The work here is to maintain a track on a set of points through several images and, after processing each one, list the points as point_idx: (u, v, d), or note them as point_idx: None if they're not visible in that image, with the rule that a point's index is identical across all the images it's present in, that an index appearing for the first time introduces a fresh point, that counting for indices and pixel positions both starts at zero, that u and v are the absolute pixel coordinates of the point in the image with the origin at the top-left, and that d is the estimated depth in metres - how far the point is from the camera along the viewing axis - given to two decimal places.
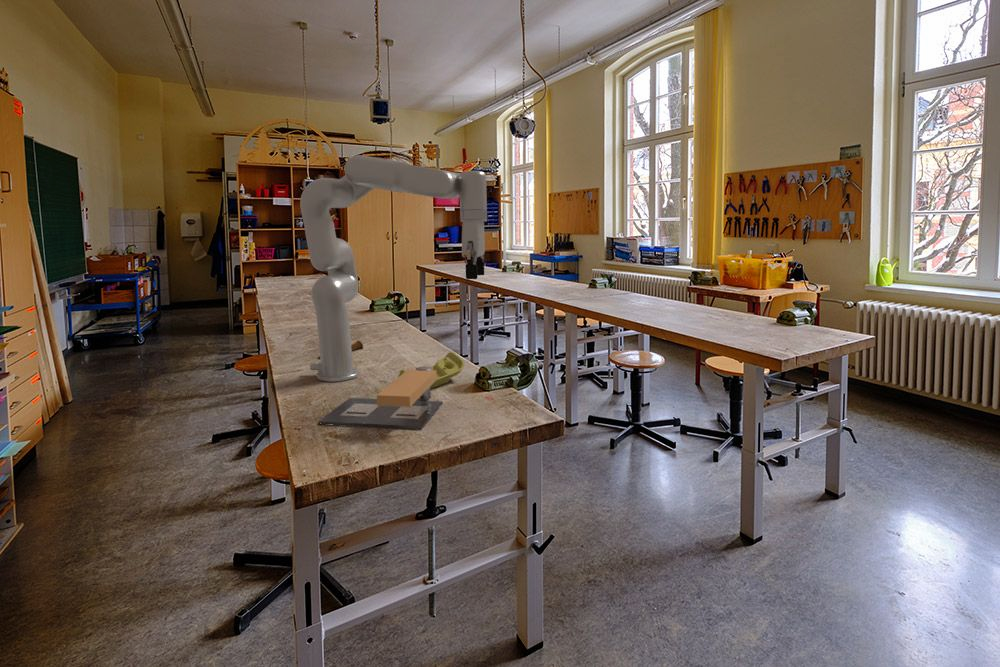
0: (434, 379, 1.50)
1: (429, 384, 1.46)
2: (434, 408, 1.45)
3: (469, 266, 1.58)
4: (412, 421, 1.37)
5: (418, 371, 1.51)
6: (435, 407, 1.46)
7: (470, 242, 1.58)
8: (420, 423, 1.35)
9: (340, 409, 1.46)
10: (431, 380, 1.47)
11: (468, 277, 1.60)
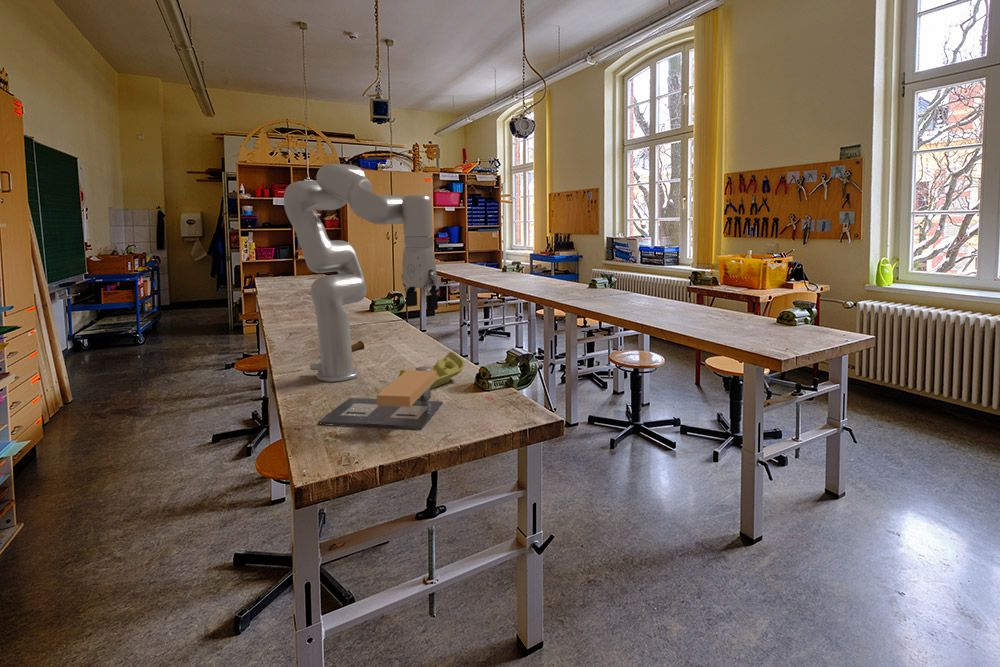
0: (434, 379, 1.50)
1: (429, 384, 1.46)
2: (434, 408, 1.45)
3: (432, 296, 1.48)
4: (412, 421, 1.37)
5: (418, 371, 1.51)
6: (435, 407, 1.46)
7: (431, 271, 1.47)
8: (420, 423, 1.35)
9: (340, 409, 1.46)
10: (431, 380, 1.47)
11: (430, 308, 1.49)
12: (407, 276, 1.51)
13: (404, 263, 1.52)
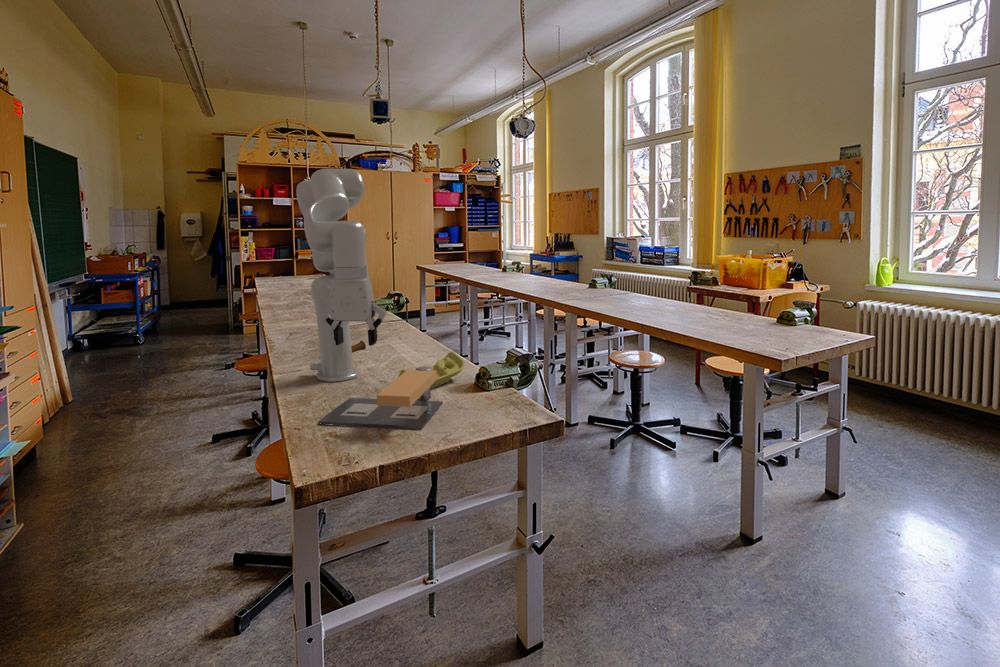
0: (434, 379, 1.50)
1: (429, 384, 1.46)
2: (434, 408, 1.45)
3: (375, 330, 1.40)
4: (412, 421, 1.37)
5: (418, 371, 1.51)
6: (435, 407, 1.46)
7: (372, 303, 1.39)
8: (420, 423, 1.35)
9: (340, 409, 1.46)
10: (431, 380, 1.47)
11: (372, 343, 1.40)
12: (341, 310, 1.38)
13: (335, 296, 1.37)
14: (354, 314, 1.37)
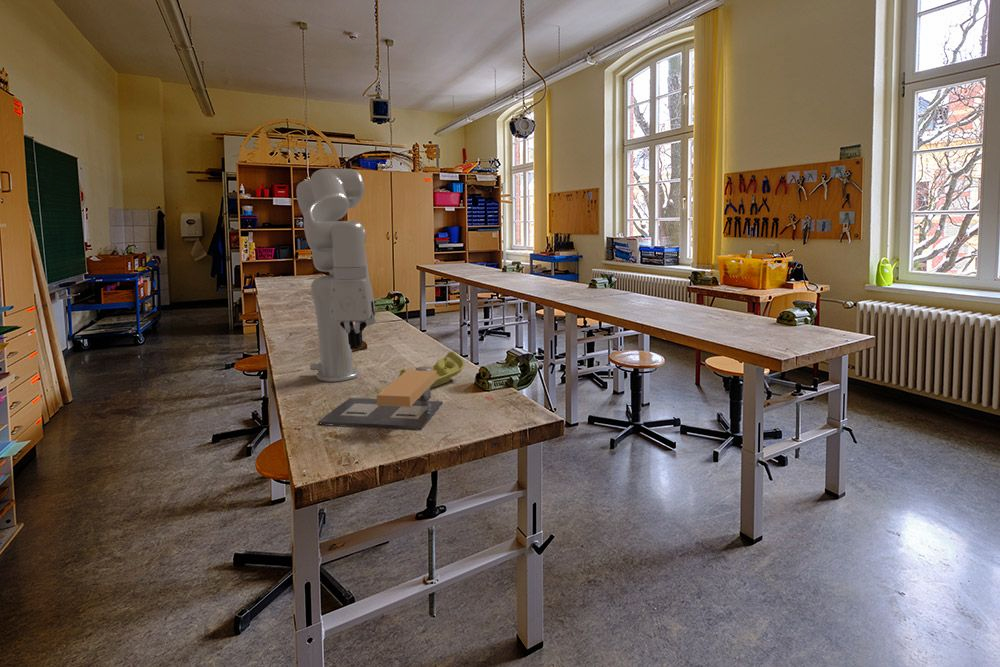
0: (434, 379, 1.50)
1: (429, 384, 1.46)
2: (434, 408, 1.45)
3: (360, 334, 1.41)
4: (412, 421, 1.37)
5: (418, 371, 1.51)
6: (435, 407, 1.46)
7: None
8: (420, 423, 1.35)
9: (340, 409, 1.46)
10: (431, 380, 1.47)
11: (357, 346, 1.41)
12: (340, 310, 1.38)
13: (334, 296, 1.37)
14: (354, 314, 1.37)
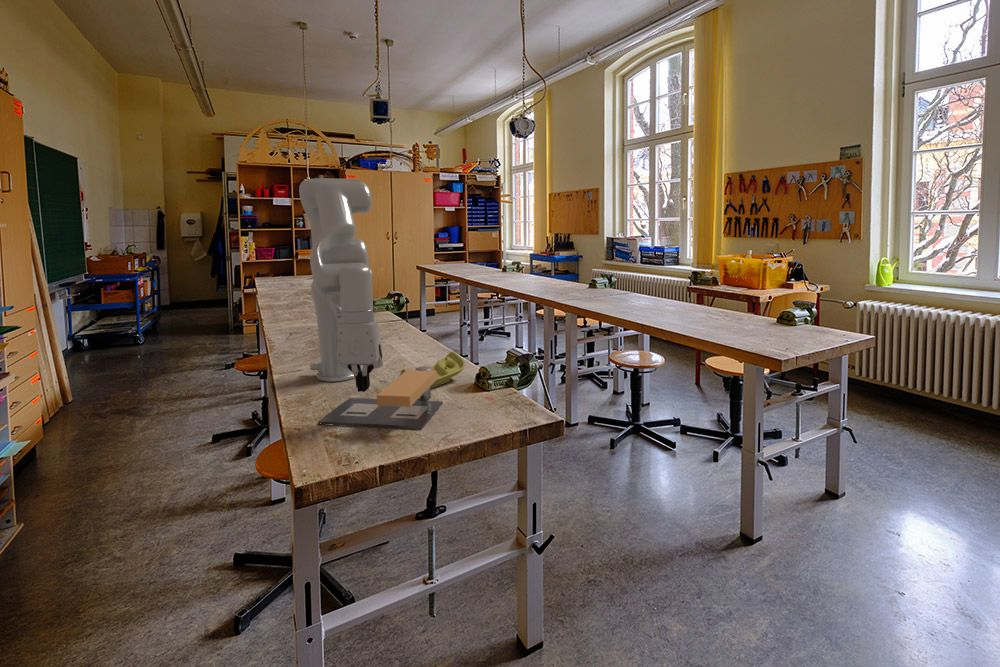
0: (434, 379, 1.50)
1: (429, 384, 1.46)
2: (434, 408, 1.45)
3: (367, 376, 1.40)
4: (412, 421, 1.37)
5: (418, 371, 1.51)
6: (435, 407, 1.46)
7: None
8: (420, 423, 1.35)
9: (340, 409, 1.46)
10: (431, 380, 1.47)
11: (364, 389, 1.41)
12: (348, 354, 1.37)
13: (342, 340, 1.37)
14: (361, 358, 1.37)
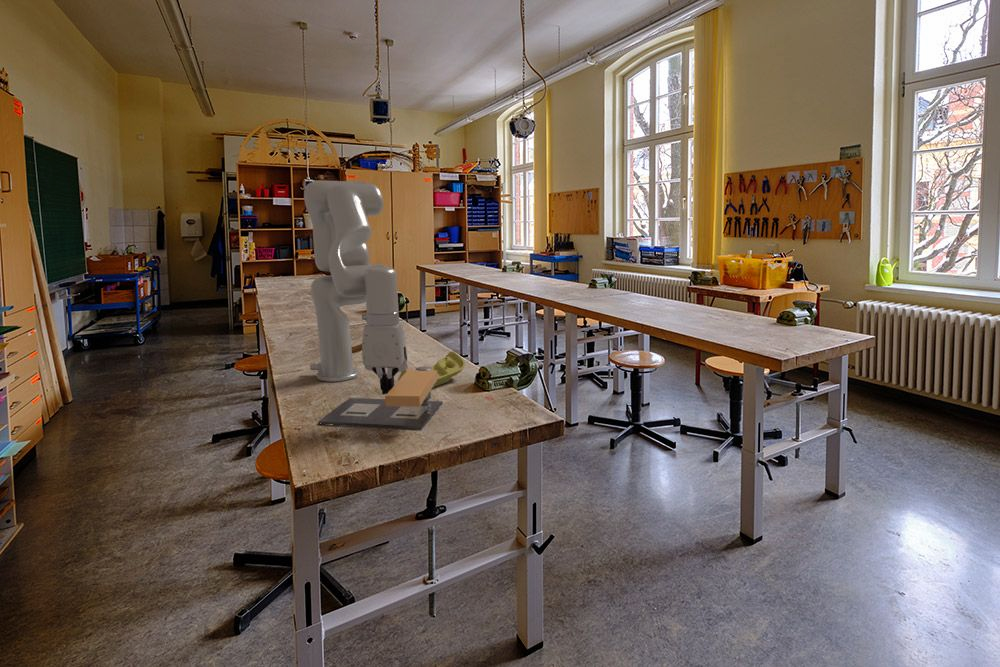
0: (436, 379, 1.50)
1: (432, 384, 1.46)
2: (434, 408, 1.45)
3: (392, 379, 1.39)
4: (412, 421, 1.37)
5: (419, 371, 1.51)
6: (435, 407, 1.46)
7: None
8: (420, 423, 1.35)
9: (340, 409, 1.46)
10: (433, 379, 1.47)
11: None
12: (373, 356, 1.36)
13: (367, 342, 1.36)
14: (386, 361, 1.36)
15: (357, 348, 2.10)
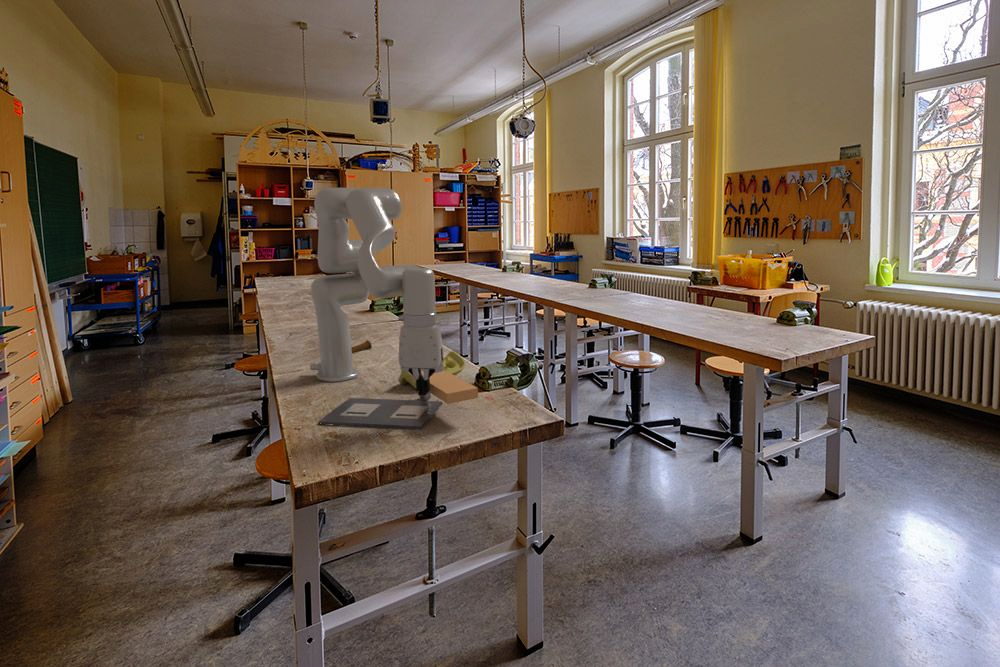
0: None
1: None
2: (434, 408, 1.45)
3: (428, 380, 1.38)
4: (412, 421, 1.37)
5: None
6: (435, 407, 1.46)
7: None
8: (420, 423, 1.35)
9: (340, 409, 1.46)
10: None
11: (425, 393, 1.38)
12: (410, 357, 1.35)
13: (404, 343, 1.35)
14: (424, 362, 1.35)
15: (358, 348, 2.11)
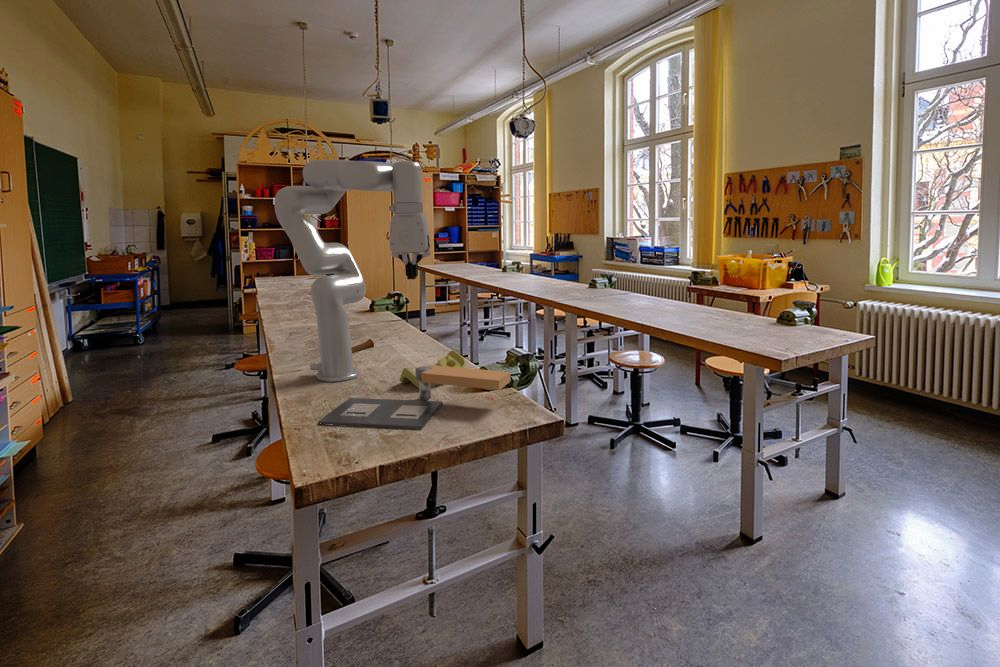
0: None
1: None
2: (434, 408, 1.45)
3: (416, 265, 1.54)
4: (412, 421, 1.37)
5: (432, 370, 1.52)
6: (435, 407, 1.46)
7: None
8: (420, 423, 1.35)
9: (340, 409, 1.46)
10: None
11: (413, 277, 1.55)
12: (399, 243, 1.51)
13: (394, 230, 1.51)
14: (412, 246, 1.51)
15: (361, 347, 2.13)
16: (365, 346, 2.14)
